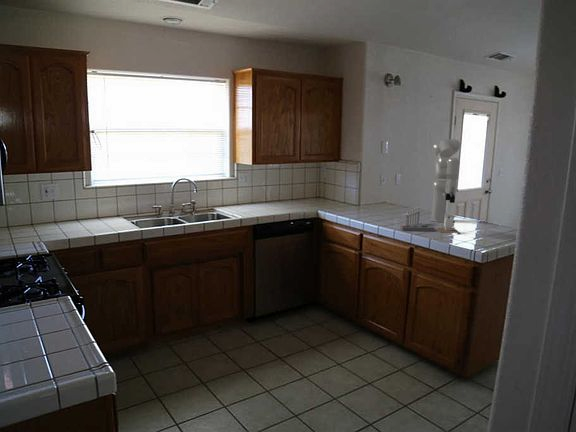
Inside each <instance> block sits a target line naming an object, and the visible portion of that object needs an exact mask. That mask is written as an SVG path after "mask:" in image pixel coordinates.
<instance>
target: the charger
mask: <svg viewBox="0 0 576 432" xmlns="http://www.w3.org/2000/svg"><path fill="white" fill-rule="evenodd" d="M453 221H454V220H453V217H450V215H448V216H447V217H444V222H443V228H445V230H446V231H451V228H453Z"/></svg>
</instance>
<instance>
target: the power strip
mask: <svg viewBox="0 0 576 432" xmlns="http://www.w3.org/2000/svg"><path fill="white" fill-rule="evenodd" d="M400 230H401V231H402V232H435V231H436V227H434V225H422V224H414V225H406V224H401V225H400Z"/></svg>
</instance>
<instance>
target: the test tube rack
mask: <svg viewBox="0 0 576 432" xmlns="http://www.w3.org/2000/svg"><path fill="white" fill-rule="evenodd" d="M422 211H424V210H423V209H420V207H419V206H418V207H414V208H412V209H409V210H406V213H403V214H402V215H403V216H405V225H422V222H420V212H422Z"/></svg>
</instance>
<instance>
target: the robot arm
mask: <svg viewBox="0 0 576 432" xmlns="http://www.w3.org/2000/svg"><path fill="white" fill-rule="evenodd" d="M431 148H432V149H431V152H432V153H431V154H432V157H433V160H434V177H435V179H438V180H434V181H433V182H432V185H431V187H432V202H431V203H432V205H431V217H429V219H428V220H429V222H435V223H444V219H445V213H446V212H445V210H446V201H449V203H451V204H454V203H456V202H455V200H456V192H457V180H458V178H459V171H460V170H459V166H460V160H459V158H458V157H453V156H454V155H456V154H457V152H459V151H460V149H461V143H460V140H458V139H455V138H454V139H447V138H446V139H442V140H441V141H440V142H439V143H434V144H433V145H432V147H431ZM444 194H445V195H444Z"/></svg>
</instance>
